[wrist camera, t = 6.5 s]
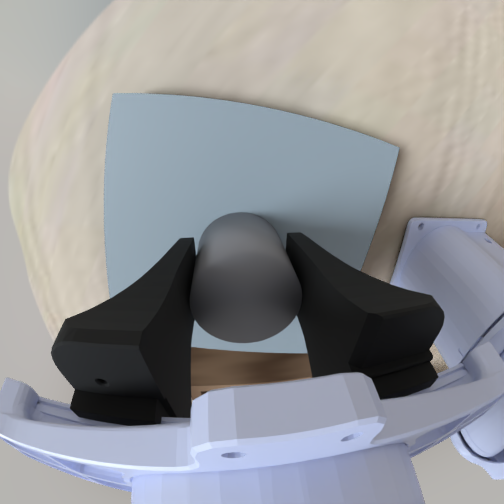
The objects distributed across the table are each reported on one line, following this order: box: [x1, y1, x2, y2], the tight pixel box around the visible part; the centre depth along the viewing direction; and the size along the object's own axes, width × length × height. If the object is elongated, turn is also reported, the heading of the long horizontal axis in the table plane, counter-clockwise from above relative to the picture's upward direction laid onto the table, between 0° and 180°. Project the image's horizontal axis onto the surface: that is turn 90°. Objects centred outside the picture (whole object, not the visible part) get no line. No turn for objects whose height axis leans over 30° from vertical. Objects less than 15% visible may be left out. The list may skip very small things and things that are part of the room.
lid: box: [104, 93, 399, 353], centre depth 12 cm, size 14×14×6 cm
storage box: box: [191, 347, 312, 400], centre depth 22 cm, size 12×12×4 cm
